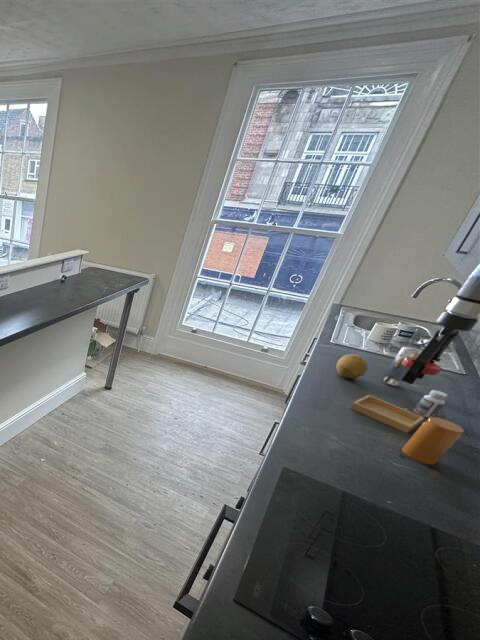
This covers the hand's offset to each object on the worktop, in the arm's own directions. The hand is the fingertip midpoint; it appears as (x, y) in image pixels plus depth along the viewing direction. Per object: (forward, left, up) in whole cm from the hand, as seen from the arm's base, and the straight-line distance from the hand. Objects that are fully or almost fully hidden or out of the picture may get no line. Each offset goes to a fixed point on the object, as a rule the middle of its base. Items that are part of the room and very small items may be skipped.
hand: (411, 379), depth 131 cm
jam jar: (-14, +20, -15) cm, 28 cm away
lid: (0, 0, +6) cm, 6 cm away
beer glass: (+9, -37, -15) cm, 41 cm away
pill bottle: (-6, -17, -15) cm, 23 cm away
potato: (+20, -24, -15) cm, 35 cm away
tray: (0, 0, -15) cm, 15 cm away
